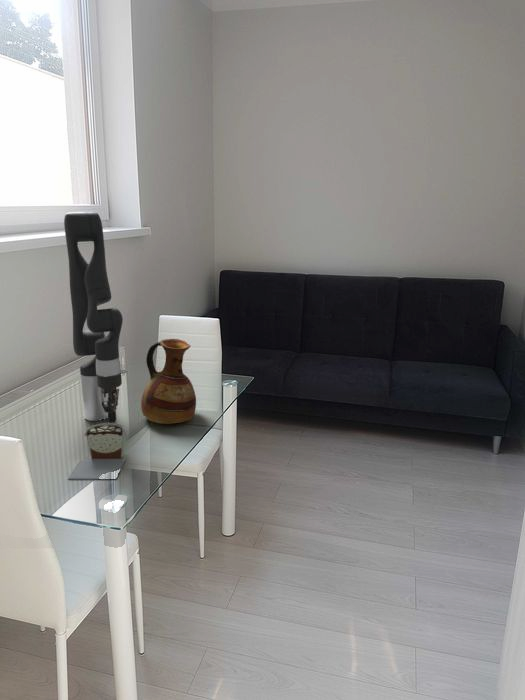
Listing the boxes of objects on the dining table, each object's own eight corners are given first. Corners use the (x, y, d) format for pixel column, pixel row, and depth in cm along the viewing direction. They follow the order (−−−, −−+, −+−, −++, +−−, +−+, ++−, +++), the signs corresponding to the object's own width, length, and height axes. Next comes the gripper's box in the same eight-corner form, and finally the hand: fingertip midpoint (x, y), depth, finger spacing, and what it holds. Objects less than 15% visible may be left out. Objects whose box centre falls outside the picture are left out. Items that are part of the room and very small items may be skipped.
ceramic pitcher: (186, 432, 183) (183, 350, 175) (132, 427, 187) (127, 346, 179) (203, 410, 202) (202, 335, 193) (154, 406, 206) (150, 332, 197)
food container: (130, 450, 171) (128, 422, 168) (126, 459, 165) (124, 430, 162) (92, 450, 170) (89, 422, 167) (86, 459, 164) (84, 430, 161)
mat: (80, 460, 164) (79, 459, 163) (125, 460, 164) (125, 459, 164) (68, 479, 153) (67, 478, 153) (116, 479, 153) (116, 478, 153)
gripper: (102, 364, 172) (106, 413, 177) (90, 378, 160) (95, 430, 165) (125, 364, 173) (128, 413, 177) (115, 378, 160) (119, 430, 165)
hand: (112, 421), depth 171 cm, fingers closed
